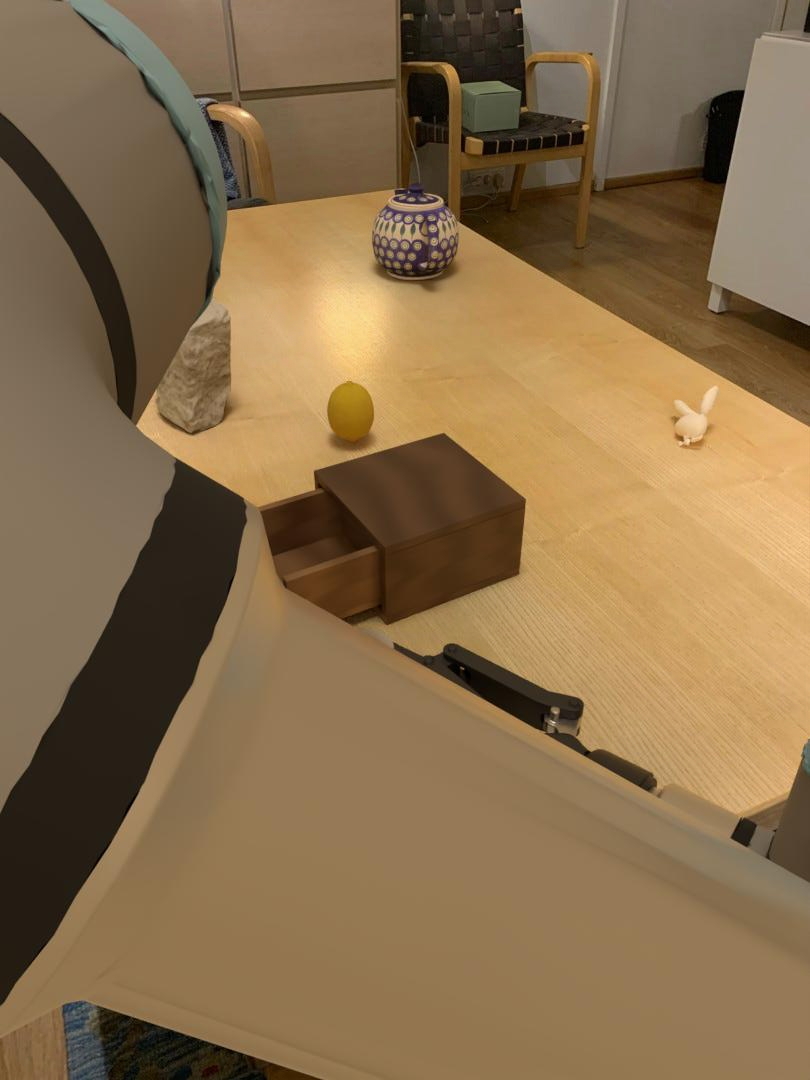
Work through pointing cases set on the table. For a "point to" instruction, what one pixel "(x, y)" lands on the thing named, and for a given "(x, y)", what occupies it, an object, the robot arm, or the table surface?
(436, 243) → the teapot
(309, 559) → the drawer
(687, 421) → the rabbit figurine
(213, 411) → the decorative stone
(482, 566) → the cabinet
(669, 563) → the table surface
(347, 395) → the lemon
